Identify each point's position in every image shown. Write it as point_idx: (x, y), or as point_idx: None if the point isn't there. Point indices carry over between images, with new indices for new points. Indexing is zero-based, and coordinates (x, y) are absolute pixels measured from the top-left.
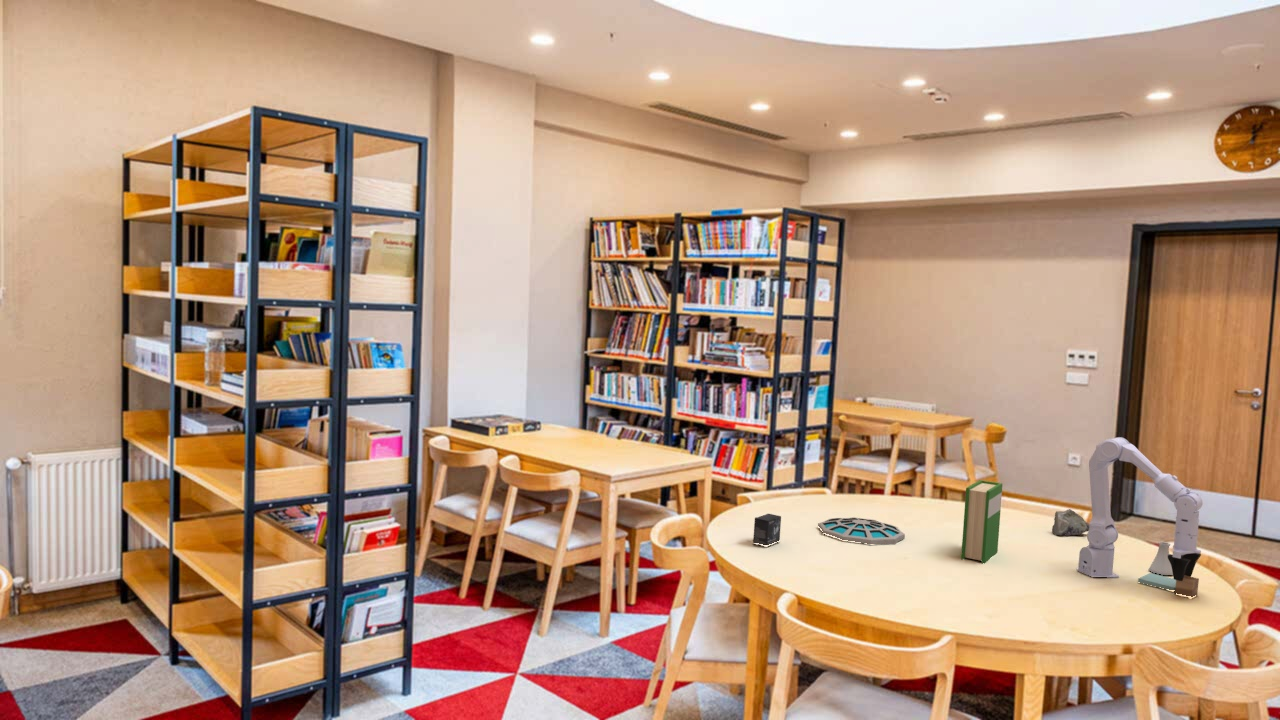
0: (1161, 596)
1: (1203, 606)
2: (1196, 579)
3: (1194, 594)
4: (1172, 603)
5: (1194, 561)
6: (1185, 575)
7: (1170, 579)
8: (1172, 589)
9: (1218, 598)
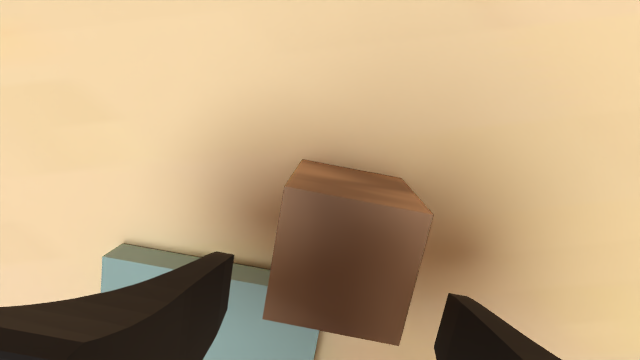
0: None
1: (524, 99)
2: (336, 200)
3: (359, 175)
4: (596, 259)
5: (153, 325)
6: (268, 292)
7: None
8: None
9: (232, 41)
